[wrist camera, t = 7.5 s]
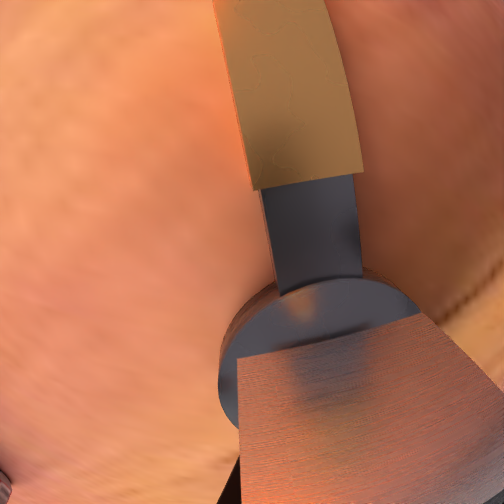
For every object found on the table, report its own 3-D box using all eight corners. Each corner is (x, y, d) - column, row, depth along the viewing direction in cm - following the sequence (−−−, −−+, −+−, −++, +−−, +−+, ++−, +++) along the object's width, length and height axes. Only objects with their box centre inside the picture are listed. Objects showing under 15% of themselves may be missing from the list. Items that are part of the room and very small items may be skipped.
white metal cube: (422, 312, 8) (550, 449, 2) (404, 425, 10) (462, 537, 4) (237, 358, 8) (245, 579, 2) (269, 462, 10) (286, 596, 4)
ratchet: (403, 397, 12) (441, 462, 8) (243, 437, 12) (247, 517, 8) (371, 4, 7) (436, -55, 3) (138, 31, 7) (81, -36, 3)
